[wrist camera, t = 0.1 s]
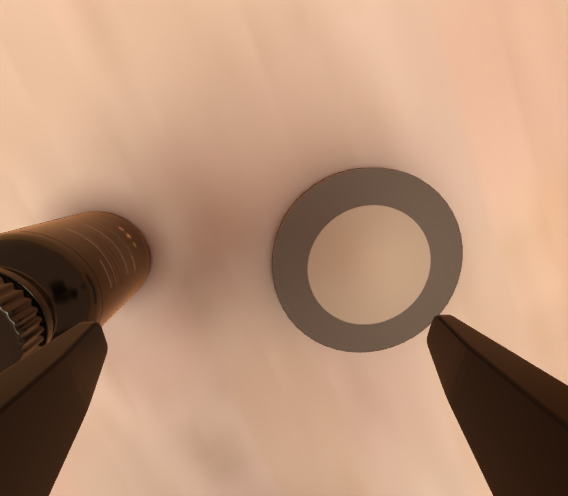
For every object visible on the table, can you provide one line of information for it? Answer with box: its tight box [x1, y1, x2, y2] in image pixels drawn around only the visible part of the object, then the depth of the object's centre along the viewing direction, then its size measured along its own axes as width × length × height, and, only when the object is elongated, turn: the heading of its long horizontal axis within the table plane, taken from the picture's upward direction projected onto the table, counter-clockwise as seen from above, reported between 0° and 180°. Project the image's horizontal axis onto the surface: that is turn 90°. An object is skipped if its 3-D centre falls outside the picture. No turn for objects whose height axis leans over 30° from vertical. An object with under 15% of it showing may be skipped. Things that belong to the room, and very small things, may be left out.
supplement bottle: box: [0, 212, 150, 373], centre depth 18 cm, size 7×7×12 cm
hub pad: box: [272, 168, 463, 352], centre depth 24 cm, size 14×14×2 cm
